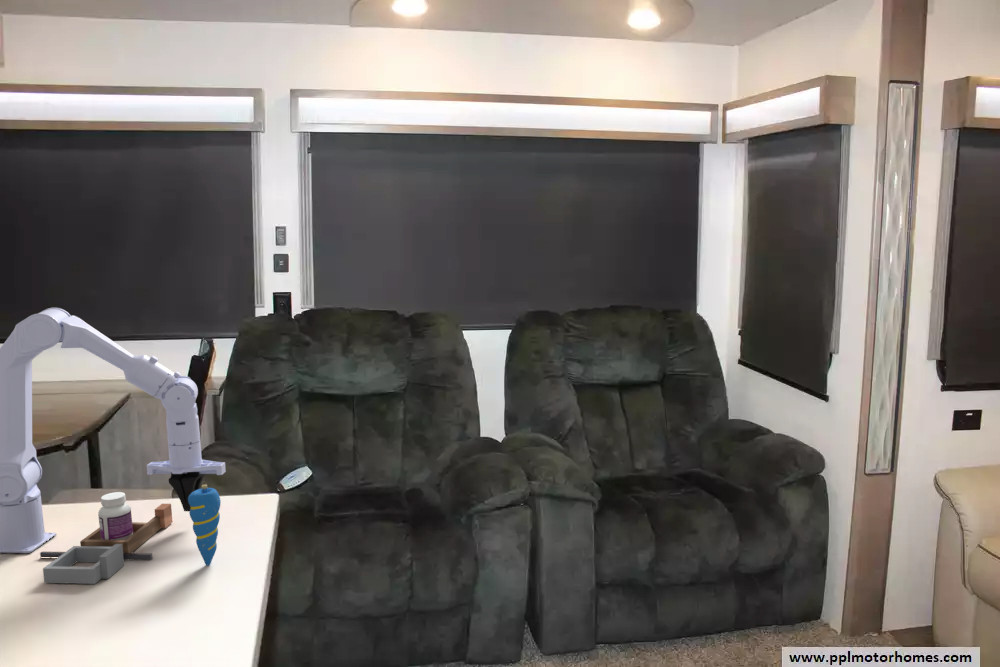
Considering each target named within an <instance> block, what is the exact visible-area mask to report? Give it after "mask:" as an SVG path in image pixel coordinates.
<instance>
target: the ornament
mask: <svg viewBox="0 0 1000 667" xmlns="http://www.w3.org/2000/svg"><path fill="white" fill-rule="evenodd" d="M203 483H204V482H201V484H202V485H201V488H199V489H198V490H195V491H194V492H192V493H191V494H190V495H189V497H188V502H189V505H190V507H191V509H190V511H189V517H190V519H191V521H192V522H193V524H192V530H193V533H194V534H195V536H196V539H195V543H196V546H197V548H198V551H199V553H200V555H201V557H202V560H203V562H204V564H205V565H206V566H210V565H211V564H212V560H213V559H214V557H215V554H216V551H217V548H218V546H217V545H218V544H217V539H218V536H219V529H218V525H219V522H220V519H221V518H220V512H219V511H220V509H221V497H220V494H219V492H218V490H216V488H213V487H208V484H207V483H205V484H203Z"/></svg>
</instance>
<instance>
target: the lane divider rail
mask: <svg viewBox="0 0 1000 667" xmlns="http://www.w3.org/2000/svg"><path fill="white" fill-rule="evenodd" d="M65 552H66V551H41V552H39V555H40V558H41V557H59V556H61V555H62V554H64V553H65ZM123 558H124V559H129V560H130V561H131V560H132V561H151V560H153V553H152V552H132V553H123Z"/></svg>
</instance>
